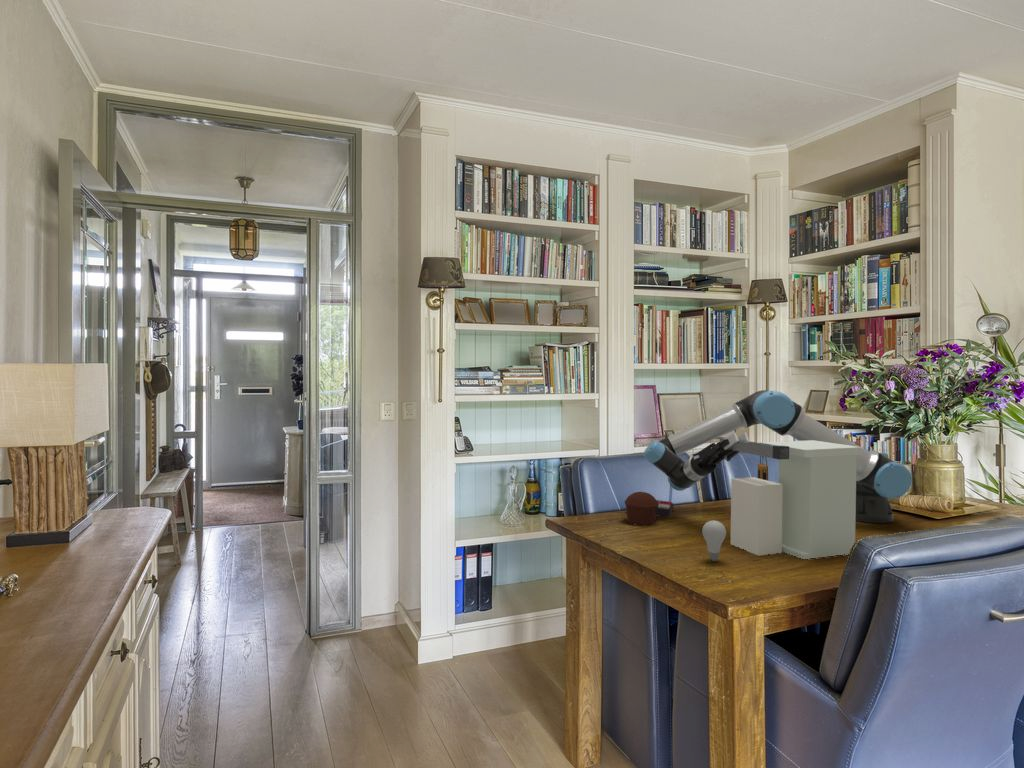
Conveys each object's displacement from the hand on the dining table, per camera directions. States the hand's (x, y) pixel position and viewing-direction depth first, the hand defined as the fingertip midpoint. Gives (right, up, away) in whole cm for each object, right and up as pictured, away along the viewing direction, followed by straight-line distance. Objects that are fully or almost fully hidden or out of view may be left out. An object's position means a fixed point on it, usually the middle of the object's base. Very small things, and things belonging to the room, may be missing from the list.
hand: (741, 436), depth 190 cm
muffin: (-25, -31, +26) cm, 47 cm away
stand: (+18, -32, -5) cm, 37 cm away
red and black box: (-18, -31, +41) cm, 55 cm away
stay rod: (+1, -4, -4) cm, 6 cm away
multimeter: (+37, -30, +68) cm, 83 cm away
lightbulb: (-14, -32, -18) cm, 39 cm away
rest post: (+2, -32, -6) cm, 32 cm away
